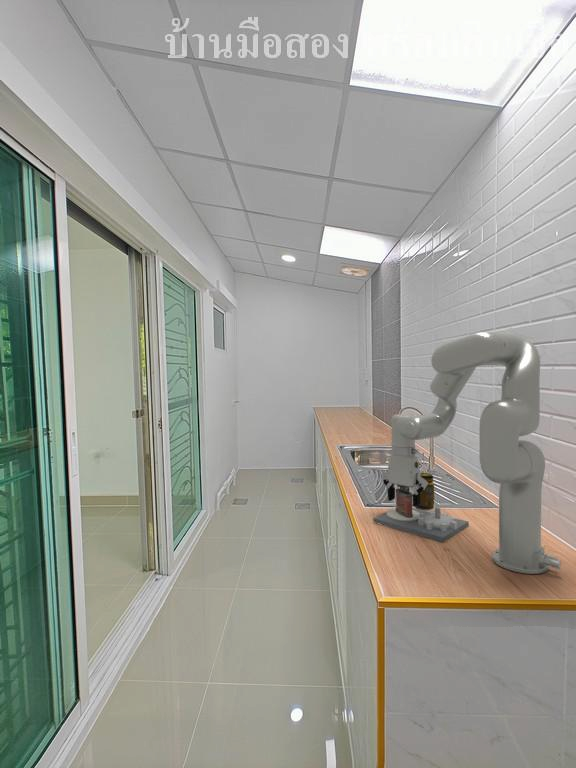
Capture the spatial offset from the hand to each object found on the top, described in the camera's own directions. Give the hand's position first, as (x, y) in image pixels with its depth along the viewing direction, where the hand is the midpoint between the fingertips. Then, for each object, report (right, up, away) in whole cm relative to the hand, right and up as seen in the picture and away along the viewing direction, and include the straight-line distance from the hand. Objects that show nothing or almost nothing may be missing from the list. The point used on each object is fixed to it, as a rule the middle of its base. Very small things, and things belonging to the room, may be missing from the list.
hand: (403, 502), depth 141 cm
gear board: (+4, -6, -4) cm, 8 cm away
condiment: (+11, -6, +13) cm, 18 cm away
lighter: (0, -4, 0) cm, 4 cm away
